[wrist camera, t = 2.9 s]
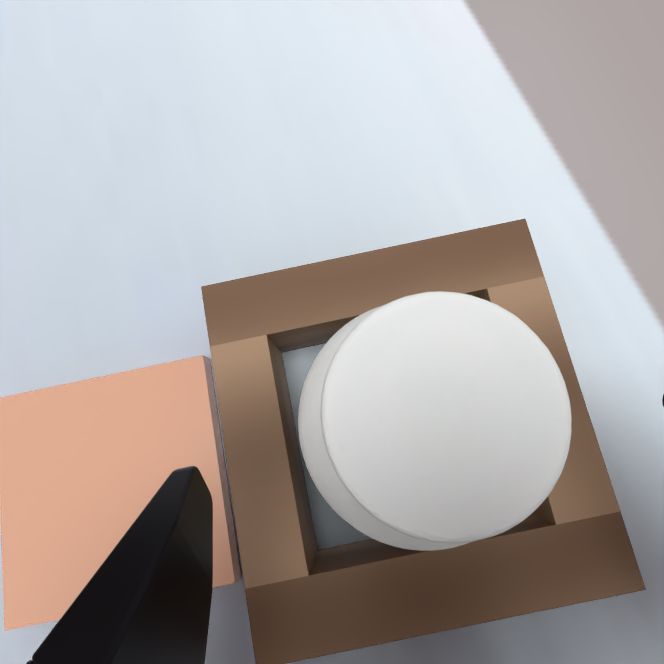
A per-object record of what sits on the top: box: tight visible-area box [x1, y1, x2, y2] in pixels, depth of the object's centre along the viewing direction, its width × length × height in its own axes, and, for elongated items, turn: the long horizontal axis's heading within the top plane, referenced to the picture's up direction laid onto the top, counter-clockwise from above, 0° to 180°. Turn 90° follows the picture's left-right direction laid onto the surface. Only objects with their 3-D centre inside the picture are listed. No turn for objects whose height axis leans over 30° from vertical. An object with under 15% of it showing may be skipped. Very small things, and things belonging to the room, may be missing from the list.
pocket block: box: [201, 219, 646, 664], centre depth 15 cm, size 11×11×3 cm
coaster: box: [0, 355, 241, 631], centre depth 16 cm, size 8×8×1 cm
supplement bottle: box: [298, 291, 572, 551], centre depth 12 cm, size 5×5×10 cm
